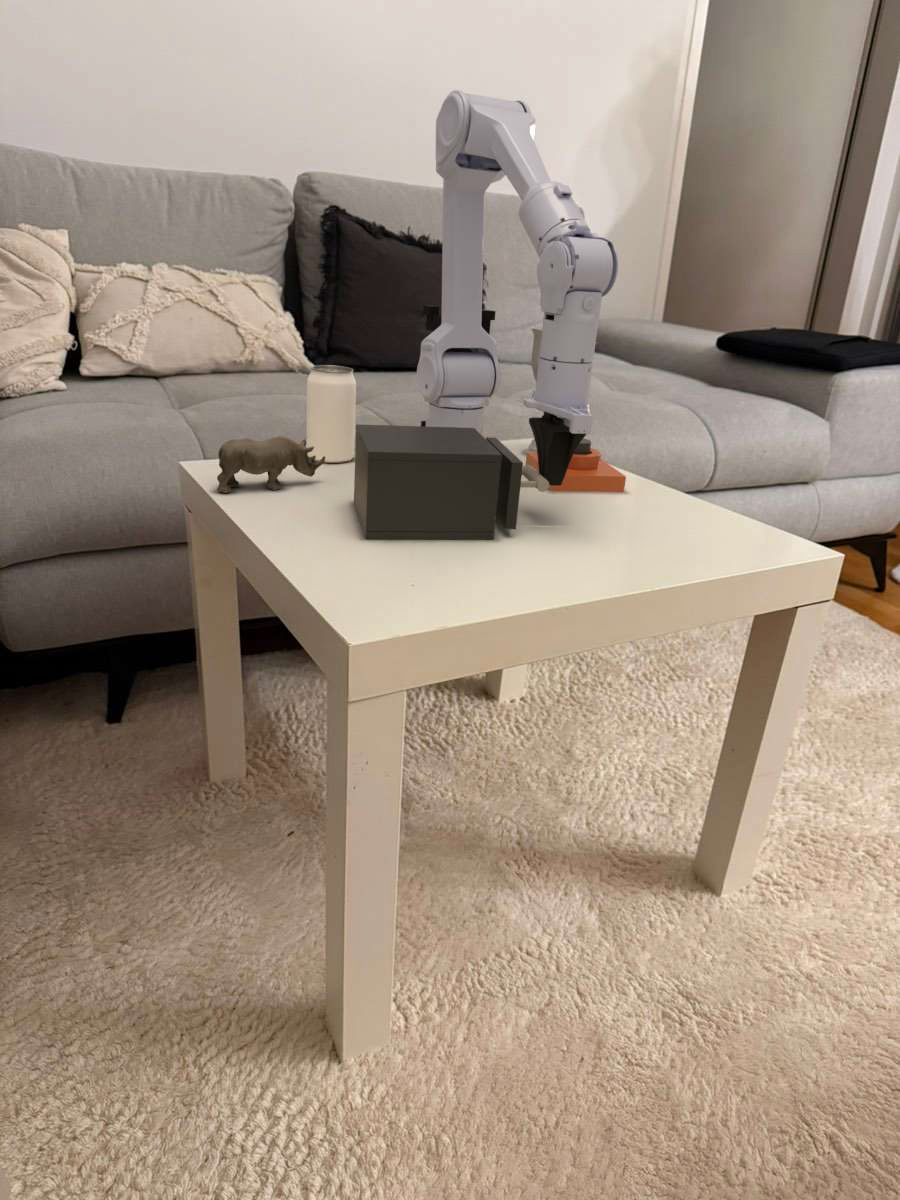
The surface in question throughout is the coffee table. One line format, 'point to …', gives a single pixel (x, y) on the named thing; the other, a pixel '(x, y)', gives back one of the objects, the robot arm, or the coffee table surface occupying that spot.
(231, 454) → the rhino figurine
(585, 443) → the button
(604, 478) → the control block
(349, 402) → the can
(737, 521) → the coffee table surface
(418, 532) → the cabinet
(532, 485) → the drawer
